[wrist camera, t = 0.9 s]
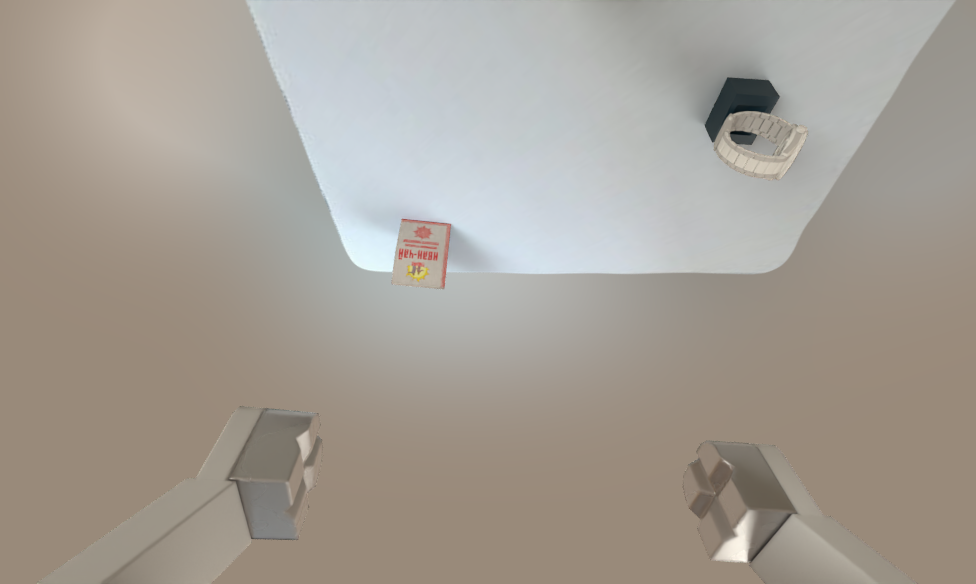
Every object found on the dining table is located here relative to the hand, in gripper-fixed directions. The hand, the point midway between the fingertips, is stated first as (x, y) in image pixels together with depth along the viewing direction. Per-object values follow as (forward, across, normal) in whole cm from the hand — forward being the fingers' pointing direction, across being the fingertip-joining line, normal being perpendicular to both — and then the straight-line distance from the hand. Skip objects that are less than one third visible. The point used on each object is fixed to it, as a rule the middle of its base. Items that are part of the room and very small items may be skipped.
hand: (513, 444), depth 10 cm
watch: (+46, -27, -1) cm, 53 cm away
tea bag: (+54, +6, +22) cm, 59 cm away
